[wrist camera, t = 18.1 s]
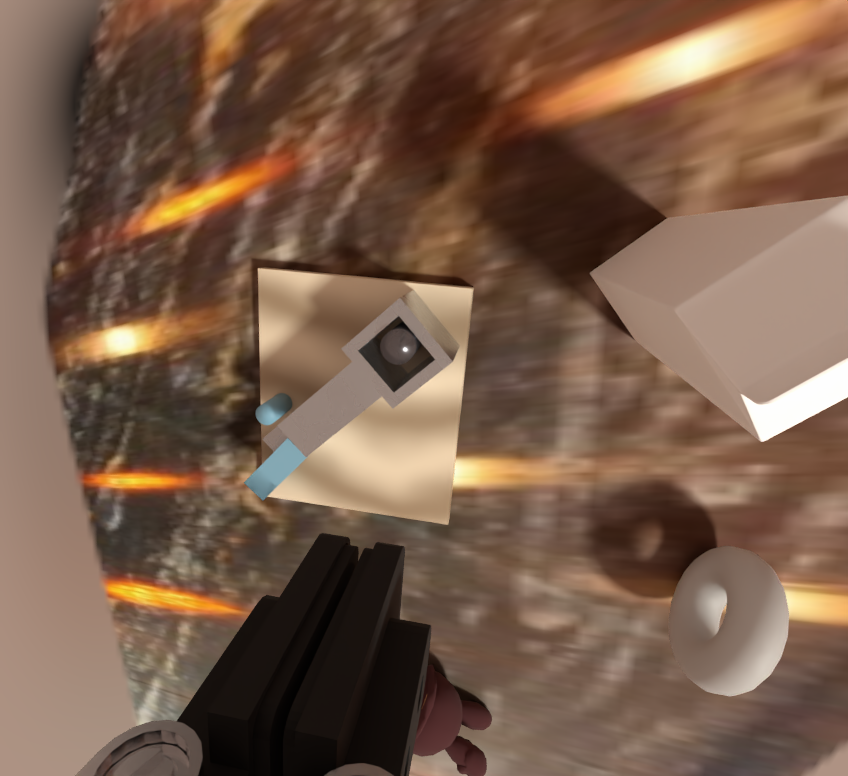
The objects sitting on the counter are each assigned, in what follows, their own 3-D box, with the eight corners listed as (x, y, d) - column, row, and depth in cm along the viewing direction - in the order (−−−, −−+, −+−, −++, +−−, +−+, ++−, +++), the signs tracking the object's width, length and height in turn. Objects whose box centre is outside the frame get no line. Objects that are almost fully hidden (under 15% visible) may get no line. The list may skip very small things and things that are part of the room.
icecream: (312, 724, 43) (460, 801, 44) (348, 694, 39) (509, 780, 40) (341, 646, 48) (471, 717, 50) (375, 613, 44) (515, 691, 46)
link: (414, 289, 36) (399, 297, 31) (460, 345, 37) (452, 361, 32) (261, 421, 41) (229, 445, 36) (304, 468, 42) (278, 498, 37)
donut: (710, 512, 38) (777, 602, 29) (753, 531, 38) (834, 627, 29) (645, 609, 42) (685, 718, 32) (684, 626, 42) (736, 740, 32)
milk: (588, 272, 35) (700, 321, 14) (668, 216, 33) (933, 176, 12) (636, 342, 36) (809, 487, 15) (717, 291, 34) (1044, 373, 13)
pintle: (399, 315, 37) (381, 328, 31) (429, 318, 36) (415, 332, 31) (397, 344, 37) (379, 362, 32) (426, 348, 37) (413, 366, 32)
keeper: (287, 384, 41) (260, 403, 36) (333, 428, 41) (312, 452, 37) (244, 431, 43) (213, 454, 38) (288, 473, 43) (262, 500, 39)
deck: (265, 267, 38) (257, 268, 37) (473, 287, 36) (472, 288, 35) (268, 489, 44) (262, 495, 43) (449, 516, 42) (447, 524, 41)
